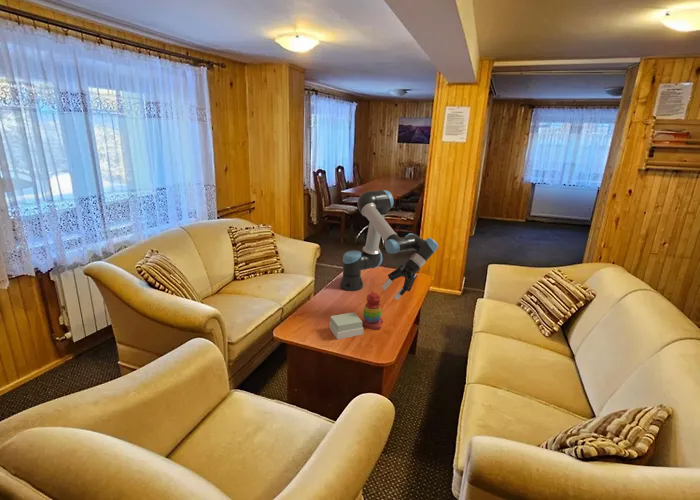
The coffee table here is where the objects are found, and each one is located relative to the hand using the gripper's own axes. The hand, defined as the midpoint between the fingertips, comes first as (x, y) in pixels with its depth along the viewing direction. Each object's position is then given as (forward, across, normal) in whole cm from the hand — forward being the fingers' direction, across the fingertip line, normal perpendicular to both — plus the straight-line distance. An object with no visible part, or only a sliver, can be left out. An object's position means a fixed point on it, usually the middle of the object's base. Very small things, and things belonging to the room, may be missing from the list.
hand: (388, 293), depth 198 cm
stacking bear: (+18, +1, -6) cm, 19 cm away
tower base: (+29, -1, +6) cm, 30 cm away
